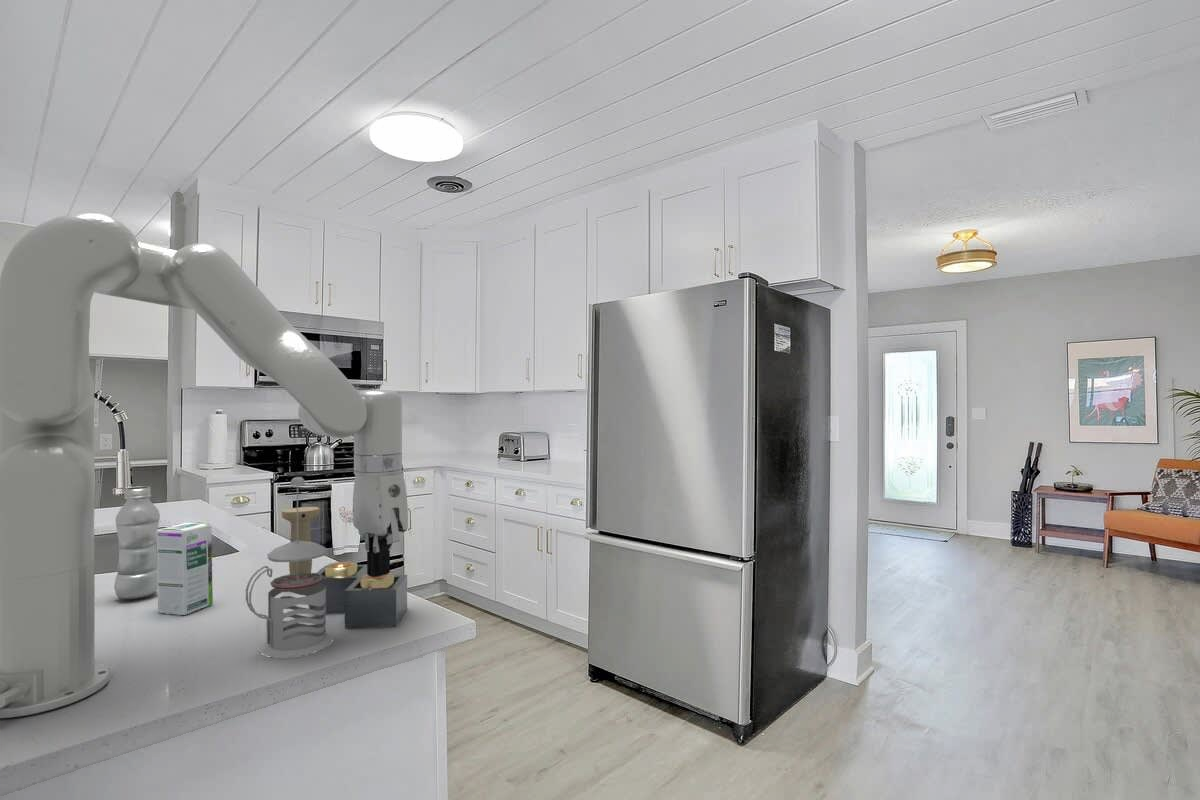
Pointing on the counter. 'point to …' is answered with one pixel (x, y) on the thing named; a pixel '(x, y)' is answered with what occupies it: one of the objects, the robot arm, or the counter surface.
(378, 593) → the socket near
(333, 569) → the cream candle
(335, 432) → the robot arm
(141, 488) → the plastic bottle
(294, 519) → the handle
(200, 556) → the syrup box
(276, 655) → the french press
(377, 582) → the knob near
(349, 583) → the socket far
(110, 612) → the counter surface
